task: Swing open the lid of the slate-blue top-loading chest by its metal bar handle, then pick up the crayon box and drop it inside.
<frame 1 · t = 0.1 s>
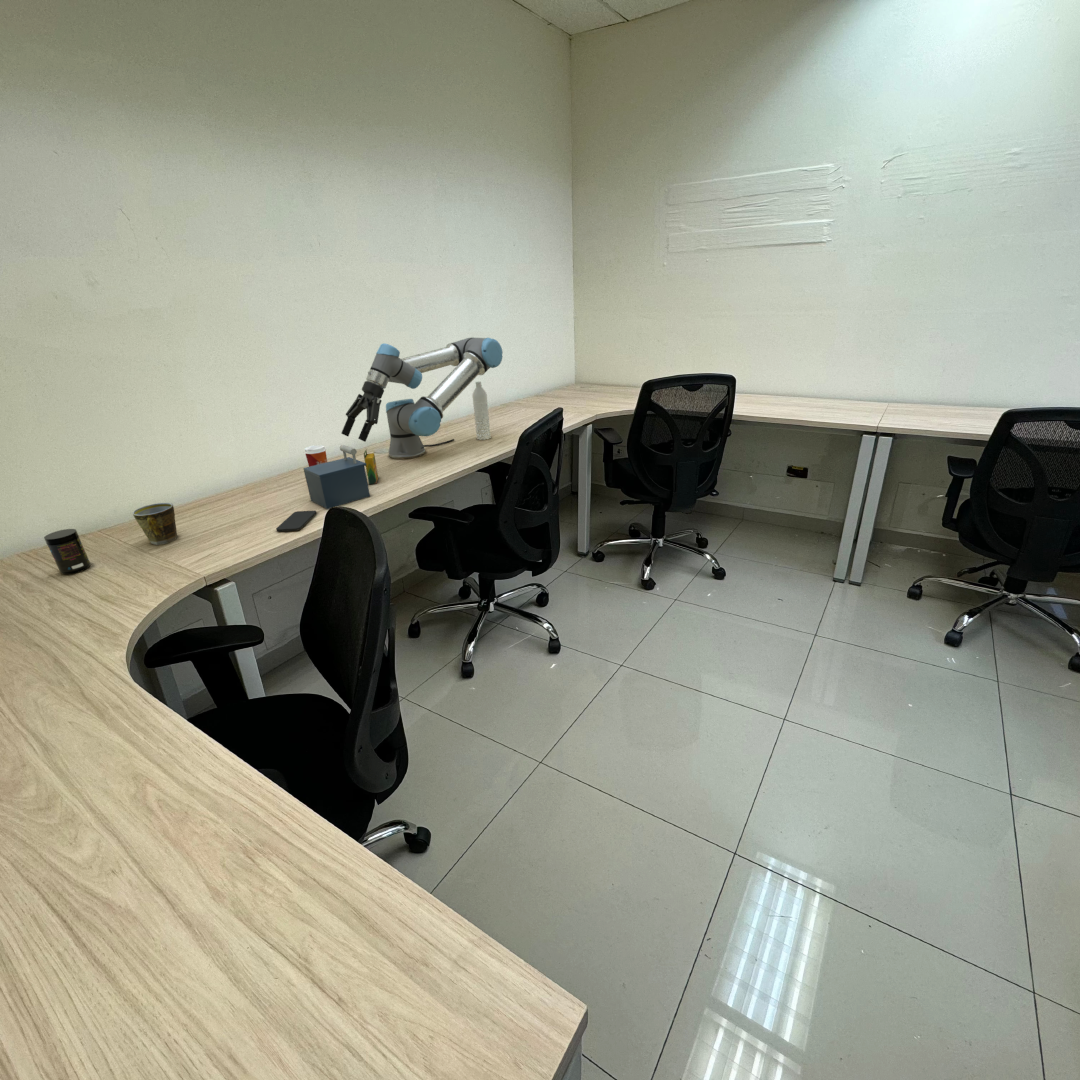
hand: (353, 437, 204), 15 cm above the table, tool tilted 35°, fingers open, 13 cm apart
crayon box: (373, 481, 205), on the table
lid: (333, 459, 184), point 14 cm above the table, hinge at 0.0°
water bottle: (483, 438, 258), on the table
ceramic cup: (163, 542, 162), on the table
supplement container: (76, 569, 148), on the table
paper cup: (322, 484, 206), on the table
chest: (340, 498, 190), on the table
phone: (297, 522, 171), on the table
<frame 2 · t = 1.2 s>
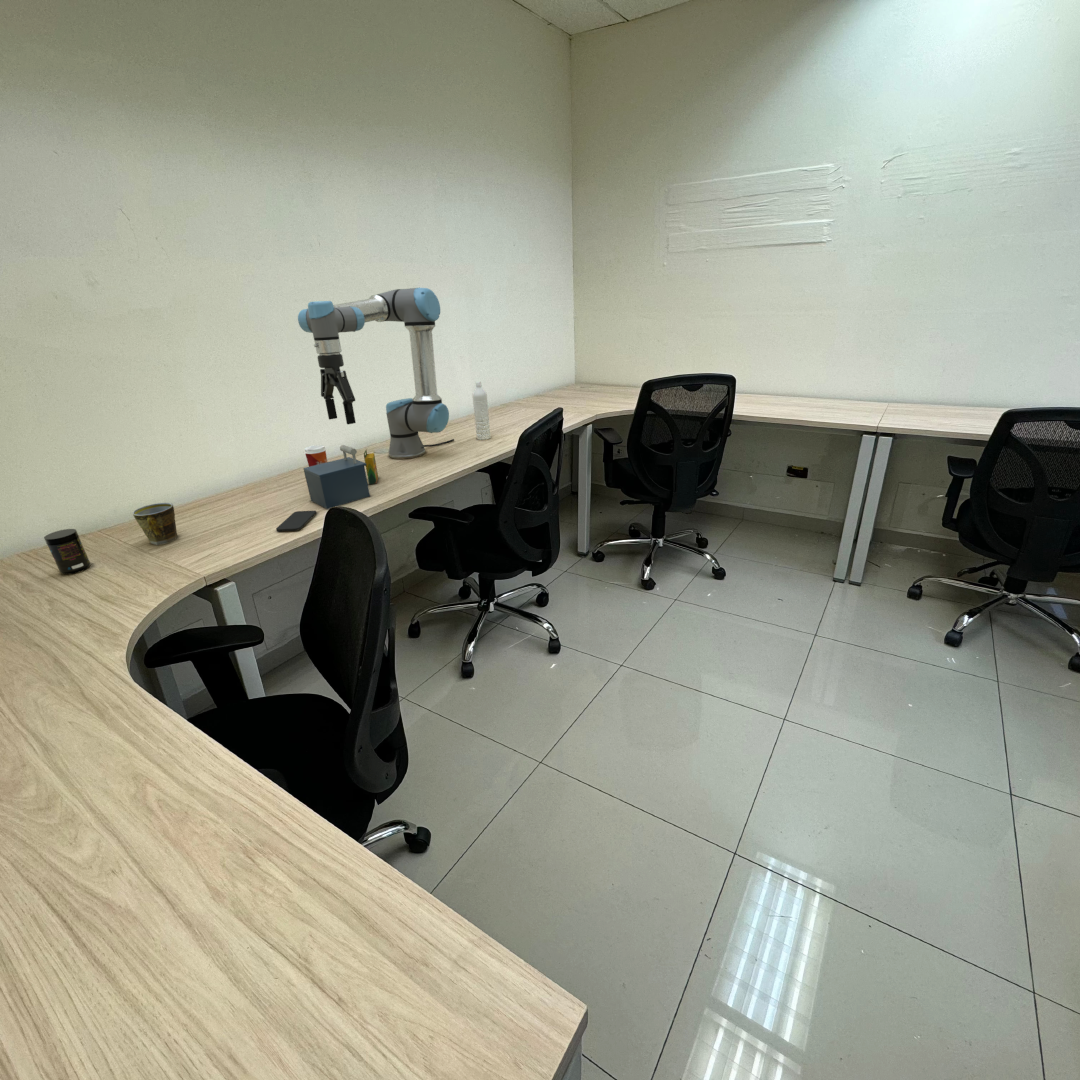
hand: (342, 421, 183), 25 cm above the table, tool pointing down, fingers open, 13 cm apart
nothing on the table moved.
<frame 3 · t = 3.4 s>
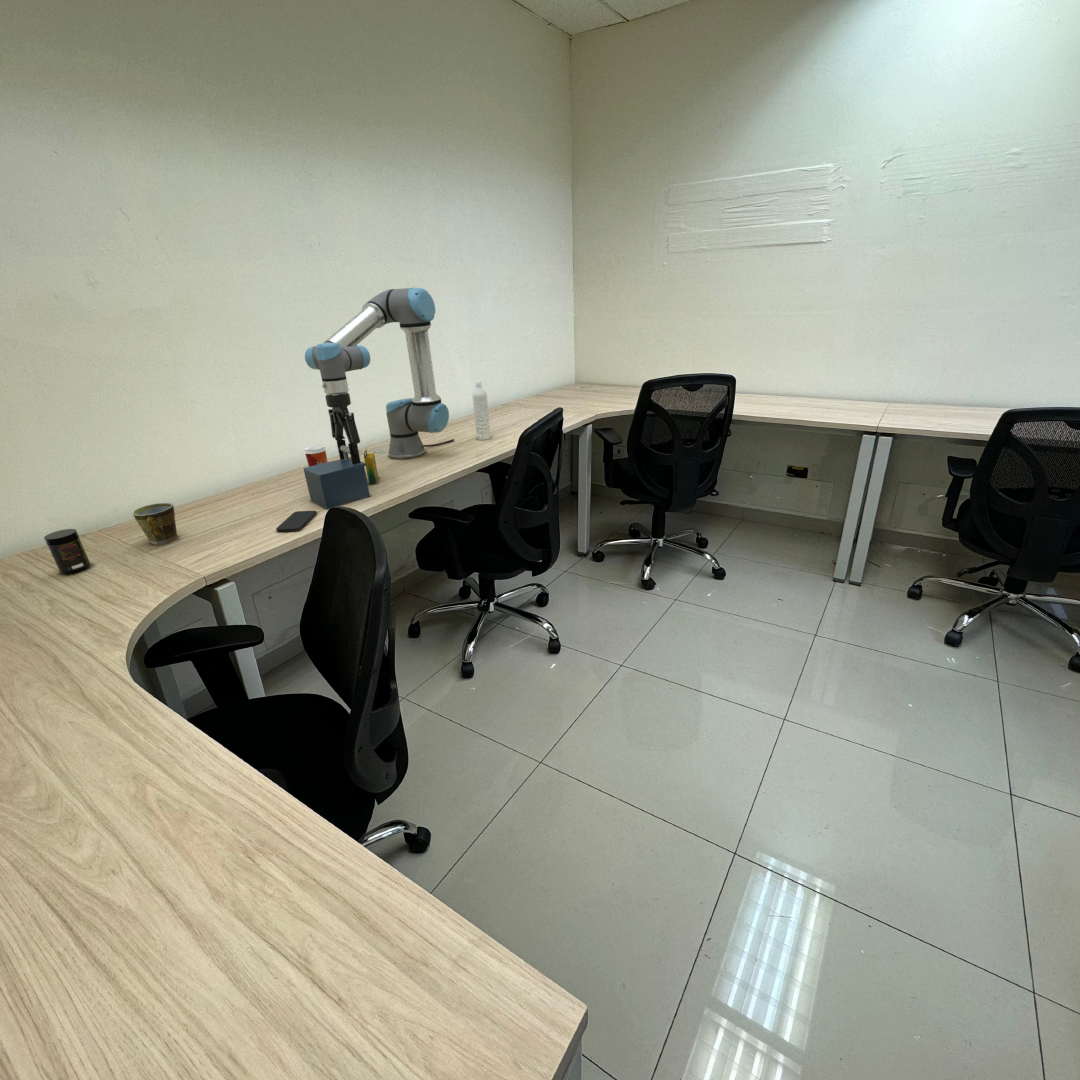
hand: (350, 461, 188), 12 cm above the table, tool pointing down, fingers closed on lid, 8 cm apart
lid: (333, 459, 184), point 14 cm above the table, hinge at -0.2°, touching chest, gripper
everything else where it was.
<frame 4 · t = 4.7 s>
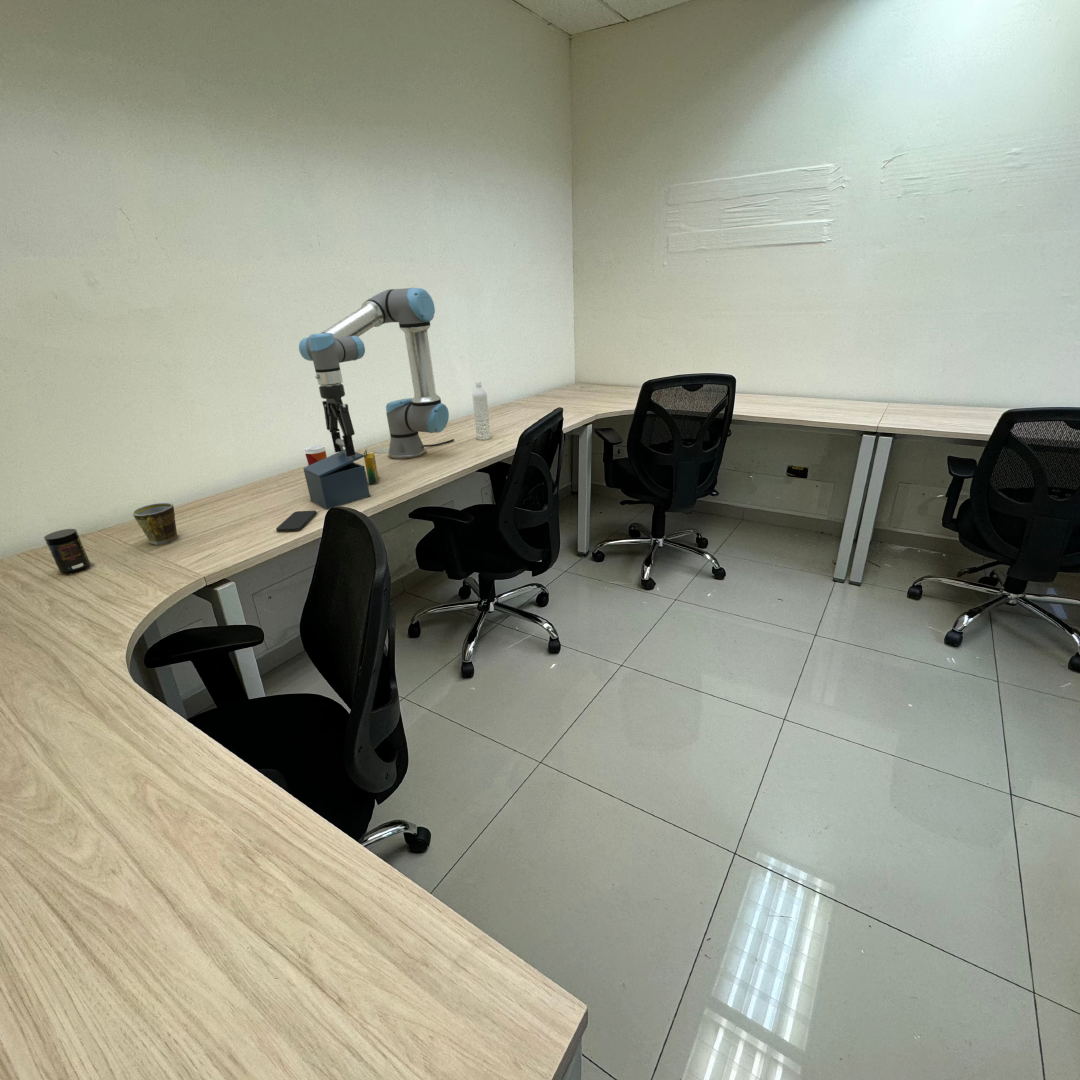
hand: (345, 453, 186), 15 cm above the table, tool pointing down, fingers open, 8 cm apart
lid: (330, 455, 183), point 15 cm above the table, hinge at 10.7°
everything else where it was.
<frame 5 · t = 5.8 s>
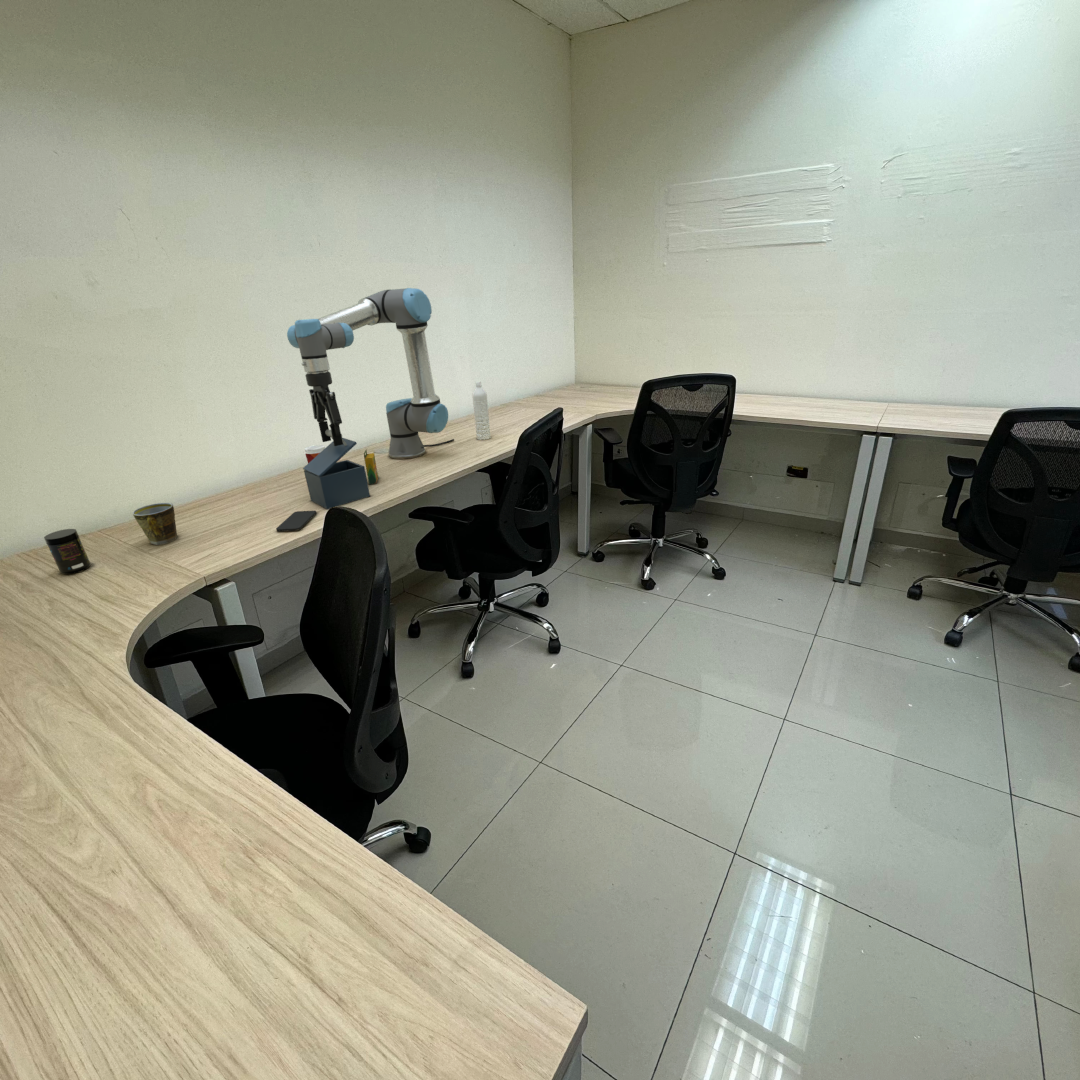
hand: (332, 443, 182), 19 cm above the table, tool pointing down, fingers open, 8 cm apart
lid: (324, 450, 181), point 17 cm above the table, hinge at 28.8°, touching gripper
everything else where it was.
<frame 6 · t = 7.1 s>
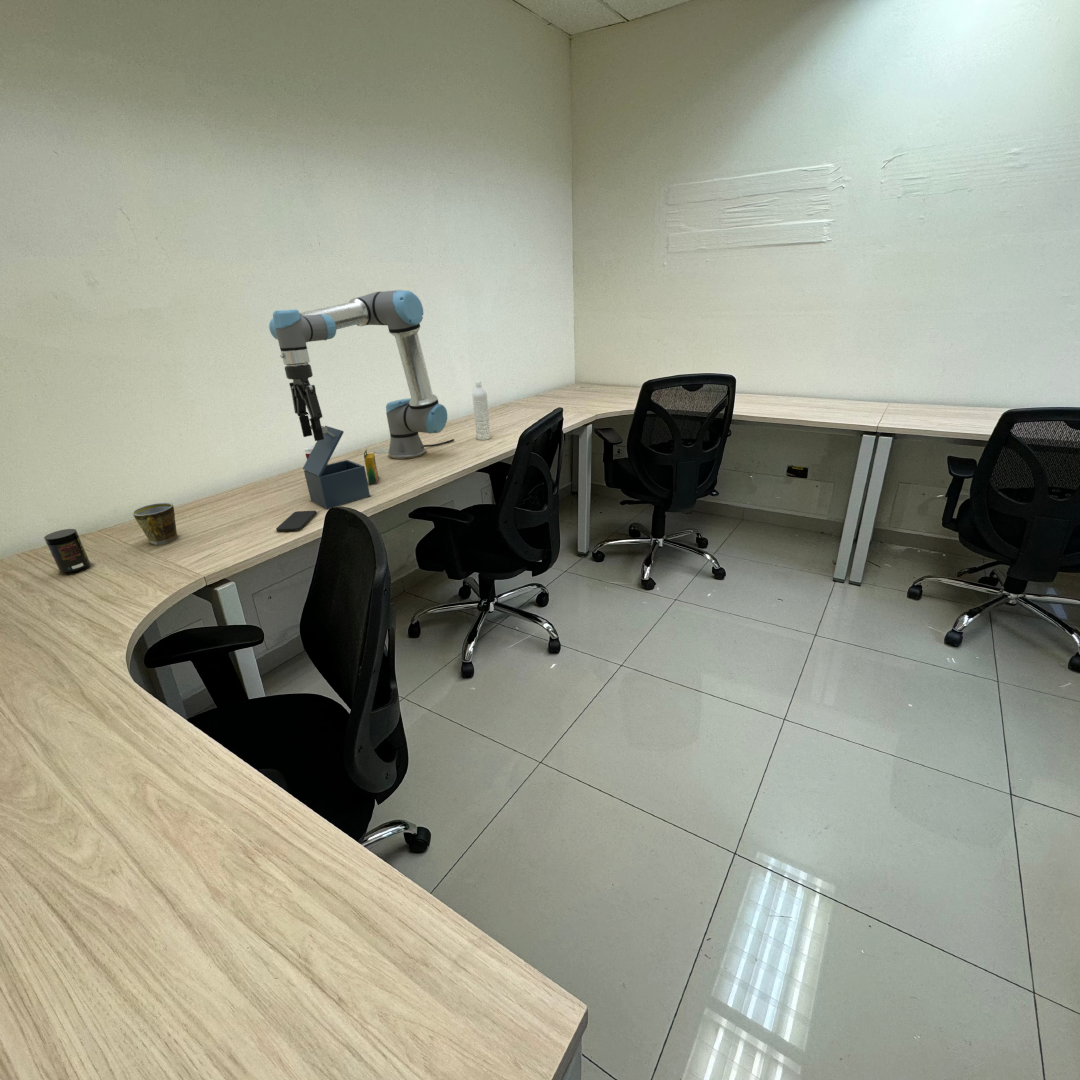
hand: (313, 437, 178), 22 cm above the table, tool pointing down, fingers open, 8 cm apart
lid: (315, 446, 179), point 19 cm above the table, hinge at 49.5°, touching gripper
everything else where it was.
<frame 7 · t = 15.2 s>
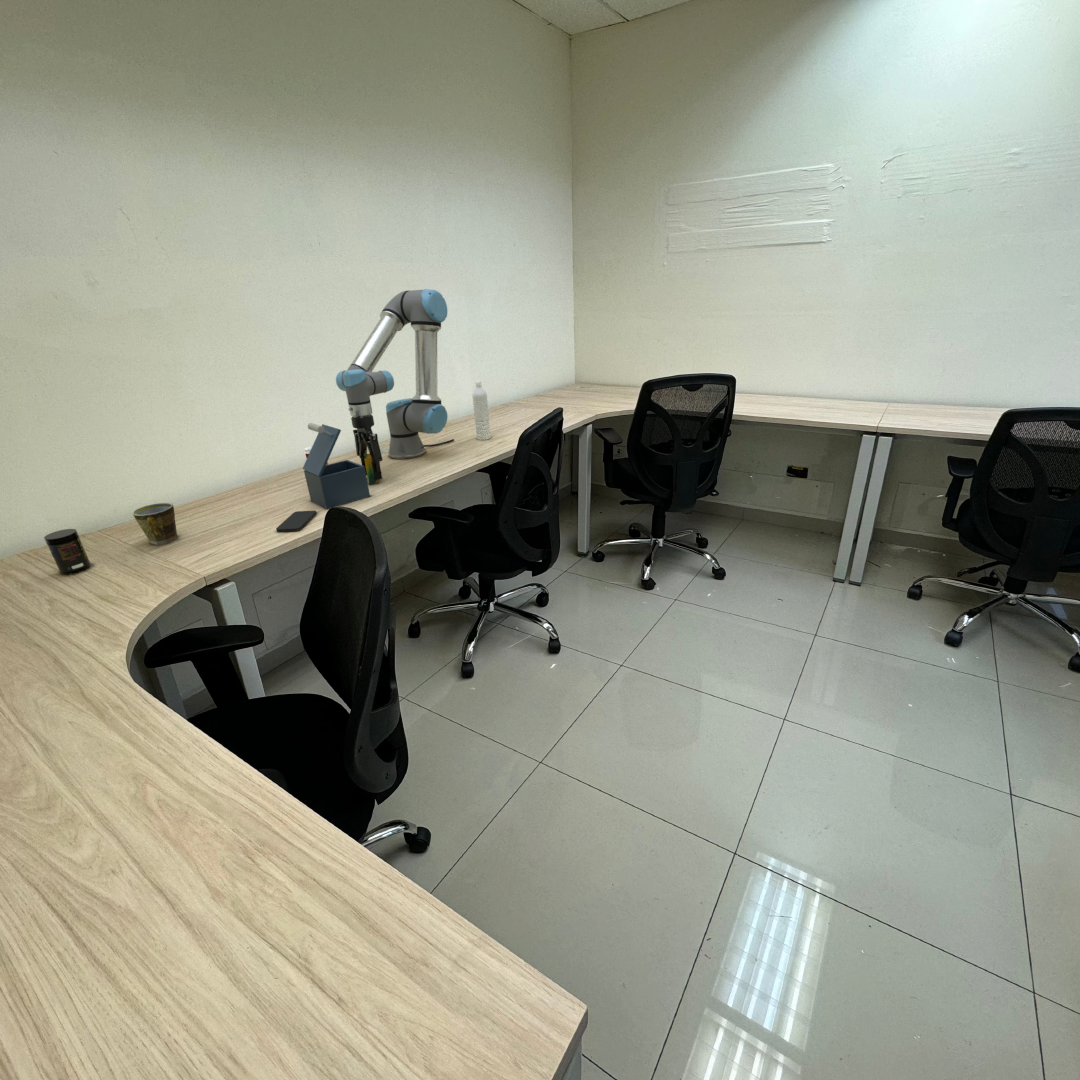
hand: (373, 477, 205), 2 cm above the table, tool pointing down, fingers closed on crayon box, 7 cm apart
crayon box: (373, 481, 205), on the table, touching gripper
lid: (314, 446, 178), point 19 cm above the table, hinge at 53.1°
everything else where it was.
when the fingers open (11 cm above the table, at t = 21.7 s): crayon box drops 7 cm, resting on chest.
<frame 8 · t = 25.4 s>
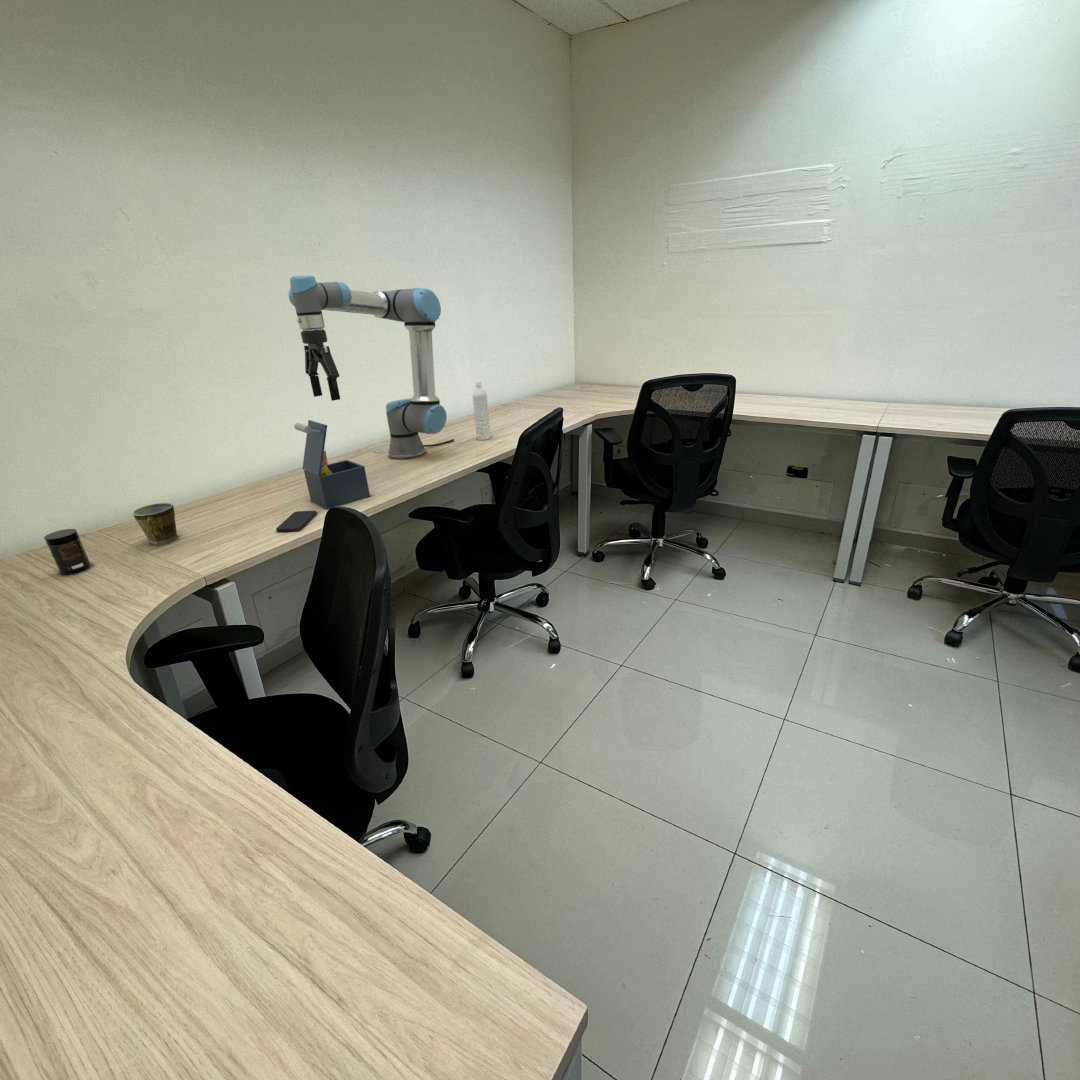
hand: (326, 398, 183), 33 cm above the table, tool pointing down, fingers open, 13 cm apart
crayon box: (340, 493, 190), point 2 cm above the table, touching chest
lid: (306, 446, 177), point 20 cm above the table, hinge at 69.8°
everything else where it was.
at the end: lid at +70° (first picture: +0°); crayon box inside the target area in the chest (0.6 cm from its centre), point 1.5 cm above the chest's base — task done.
